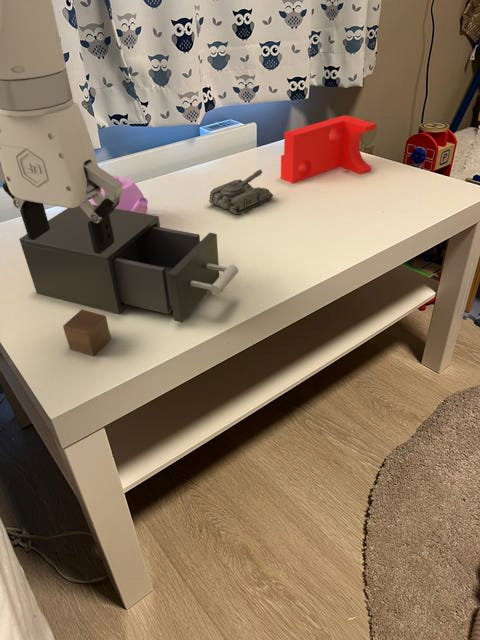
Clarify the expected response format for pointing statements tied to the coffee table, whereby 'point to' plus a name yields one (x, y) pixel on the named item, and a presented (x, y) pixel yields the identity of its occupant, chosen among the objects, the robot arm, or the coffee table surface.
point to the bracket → (324, 148)
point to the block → (87, 332)
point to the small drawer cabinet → (82, 257)
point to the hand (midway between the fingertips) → (71, 241)
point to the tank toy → (239, 195)
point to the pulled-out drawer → (170, 271)
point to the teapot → (129, 197)
